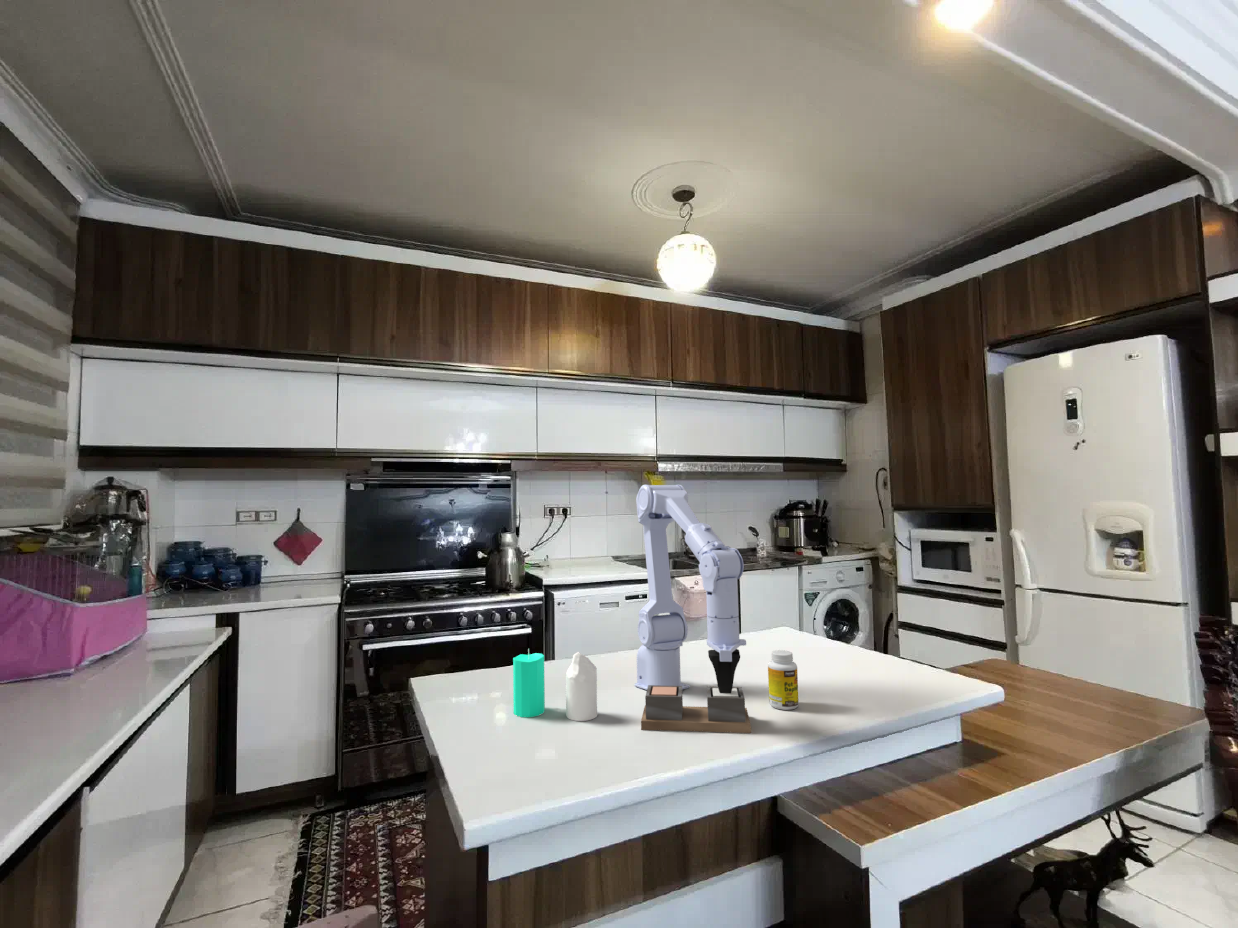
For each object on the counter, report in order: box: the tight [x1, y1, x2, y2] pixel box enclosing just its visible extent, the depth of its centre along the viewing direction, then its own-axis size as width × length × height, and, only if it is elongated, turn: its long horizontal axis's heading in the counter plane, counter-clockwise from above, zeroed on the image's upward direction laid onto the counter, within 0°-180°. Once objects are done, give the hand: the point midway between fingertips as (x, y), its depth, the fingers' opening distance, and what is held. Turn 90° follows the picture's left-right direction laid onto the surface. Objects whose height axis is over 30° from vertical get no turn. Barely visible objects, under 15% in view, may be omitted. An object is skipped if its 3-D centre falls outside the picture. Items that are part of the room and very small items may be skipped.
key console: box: [640, 685, 752, 734], centre depth 103 cm, size 8×19×6 cm, turn 82°
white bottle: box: [565, 651, 598, 722], centre depth 108 cm, size 6×12×6 cm
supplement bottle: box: [767, 649, 799, 711], centre depth 111 cm, size 6×6×10 cm
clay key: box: [651, 687, 677, 696], centre depth 104 cm, size 4×4×2 cm
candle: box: [512, 648, 546, 718], centre depth 111 cm, size 6×6×12 cm
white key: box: [712, 688, 738, 697], centre depth 103 cm, size 4×4×2 cm
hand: (725, 692), depth 103 cm, fingers closed, pressing on white key
